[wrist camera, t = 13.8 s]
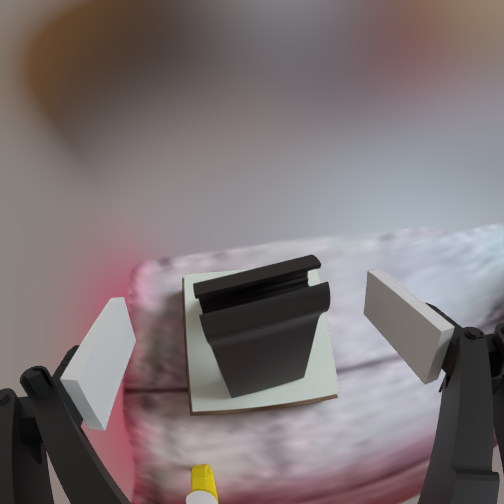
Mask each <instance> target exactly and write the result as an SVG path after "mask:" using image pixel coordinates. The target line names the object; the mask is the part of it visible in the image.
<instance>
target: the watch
mask: <svg viewBox="0 0 504 504" xmlns="http://www.w3.org/2000/svg"><path fill="white" fill-rule="evenodd" d="M191 487H192V491H190V492H189V493H188V495H187V497H186V504H218V496H217V491H216V487H215V482H214V478H213V473H212V470H211V468H210V466H209V465H207V464H203V465H194V466H193V468H192V471H191Z"/></svg>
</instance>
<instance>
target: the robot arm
mask: <svg viewBox="0 0 504 504" xmlns="http://www.w3.org/2000/svg"><path fill="white" fill-rule="evenodd" d="M364 315H365V316H366V317H367V318H368V319H369V320H370V322H371V323H372V324H373V325H374V326H375V327H376V328H377V329H378V331H379V332H380V333H381V334H382V335H383V336H384V337H385V339H386V340H387V341H388V342H389V343H390V344H391V345H392V347H393V348H394V349H395V350H396V351H397V352H398V354H399V355H400V356H401V357H402V358H403V359H404V361H405V362H406V363H407V364H408V365H409V366H410V368H411V369H412V370H413V371H414V372H415V374H416V375H417V376H418V377H419V378H420V380H421V381H422V382H423V383H424V384H427V383H430V382H432V381H434V380H437V379H438V377H439V374H440V371H441V368H442V369H443V370H444V372H445V373H446V375H445V377H444V380H443V382H442V385H441V387H440V390H439V392H441V391H442V398H441V406H440V413H439V419H438V425H437V431H436V436H435V441H434V446H433V450H432V455H431V459H430V463H429V467H428V471H427V475H426V478H425V482H424V485H423V488H422V492H421V495H420V498H419V501H418V504H497V497H498V490H499V481H500V480H499V474H498V472H493V471H492V455H493V425H494V429H495V433H496V437H497V441H498V446H499V451H500V455H501V461H502V467H503V473H504V323H500V324H498V325H497V326H496V329H495V332H494V334H488V335H485V334H484V333H483V332H482V331H481V330H479V329H477V328H474V327H465V328H462V327H461V326H459V325H458V324H457V323H456V322H454V321H453V320H452V319H451V318H449V317H448V316H446V315H445V314H444V313H443V312H441V311H440V310H439V309H438V308H437V307H435V306H433V305H431V304H428V303H424V302H423V301H422V300H420V299H419V298H418V297H416V296H415V295H414V294H412V293H411V292H410V291H409V290H407V289H406V288H405V287H403V286H402V285H401V284H399V283H398V282H397V281H395V280H394V279H393V278H391V277H390V276H389V275H387V274H386V273H385V272H383V271H382V270H380V269H374V270H368V274H367V286H366V297H365V307H364ZM135 343H136V339H135V336H134V332H133V329H132V325H131V322H130V318H129V315H128V311H127V308H126V304H125V300H124V297H119V298H111V299H110V300H109V302H108V303H107V305H106V306H105V308H104V309H103V311H102V312H101V314H100V315H99V317H98V318H97V320H96V321H95V323H94V324H93V326H92V327H91V329H90V330H89V332H88V333H87V335H86V337H85V338H84V340H83V342H82V343H81V345H76V346H74V347H73V348H72V349H70V350H69V351H68V352H67V354H66V355H65V357H64V358H63V360H62V361H61V364H60V366H58V368H57V370H56V371H55V373H54V375H53V376H52V377H51V375H50V373H49V372H48V370H47V369H46V367H43V366H34V367H31V368H29V369H28V370H26V371H25V372H24V373H23V374H22V375H21V377H20V383H21V385H22V387H23V388H24V390H25V392H26V393H27V395H28V396H27V397H19V398H18V397H17V395H16V394H15V392H14V391H13V390H12V389H9V388H7V389H6V388H5V389H2V390H0V504H54V500H53V495H52V489H51V484H50V477H49V470H48V462H47V454H46V450H47V453H48V455H49V458H50V460H51V463H52V465H53V467H54V470H55V472H56V474H57V477H58V479H59V481H60V483H61V485H62V487H63V489H64V491H65V493H66V495H67V497H68V499H69V501H70V503H71V504H131V503H130V501H129V500H128V499H127V497H126V496H125V495H124V493H123V492H122V491H121V489H120V488H119V487H118V485H117V484H116V482H115V481H114V480H113V478H112V477H111V475H110V474H109V472H108V471H107V469H106V468H105V466H104V465H103V463H102V462H101V460H100V458H99V457H98V455H97V454H96V452H95V450H94V448H93V447H92V445H91V444H90V442H89V440H88V438H87V436H86V435H85V433H84V431H83V430H82V428H81V424H82V422H83V420H84V421H85V423H86V425H87V426H88V428H89V429H94V430H104V431H105V430H106V426H107V423H108V420H109V417H110V413H111V410H112V407H113V404H114V401H115V398H116V395H117V392H118V390H119V387H120V384H121V381H122V378H123V375H124V372H125V370H126V367H127V364H128V361H129V359H130V356H131V353H132V351H133V348H134V345H135ZM442 389H443V390H442Z"/></svg>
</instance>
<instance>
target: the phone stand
mask: <svg viewBox="0 0 504 504" xmlns="http://www.w3.org/2000/svg"><path fill="white" fill-rule="evenodd" d="M320 267H321V263H320V261H319V260H318V259H317V258H316V257H315V256H314V255H308V256H304V257H300V258H296V259H292V260H288V261H284V262H280V263H276V264H272V265H268V266H264V267H260V268H256V269H251V270H247V271H243V272H239V273H235V274H231V275H227V276H222V277H218V278H214V279H210V280H205V281H201V282H197V283H193V290H194V296H195V299H199V302H200V306H201V309H202V314H201V315H199V318H200V322H201V325H202V329H203V332H204V335H205V338H206V341H207V343H208V344H209V345H210V346H211V348H212V351H213V353H214V356H215V359H216V361H217V364H218V366H219V369H220V371H221V374H222V376H223V379H224V381H225V383H226V386H227V388H228V391H229V393H230V395H231V398H235V397H240V396H244V395H247V394H251V393H255V392H259V391H262V390H266V389H269V388H273V387H276V386H280V385H283V384H286V383H290V382H293V381H296V380H299V379H302V378H304V376H305V372H306V369H307V365H308V361H309V357H310V353H311V349H312V345H313V341H314V336H315V332H316V328H317V323H318V320H319V317H320V315H321V314H322V313H324V312H327V311H328V309H329V306H330V289H329V284H328V282H324V283H321V284H317V285H314V286H309V284H308V271H310V270H314V269H318V268H320Z"/></svg>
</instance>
